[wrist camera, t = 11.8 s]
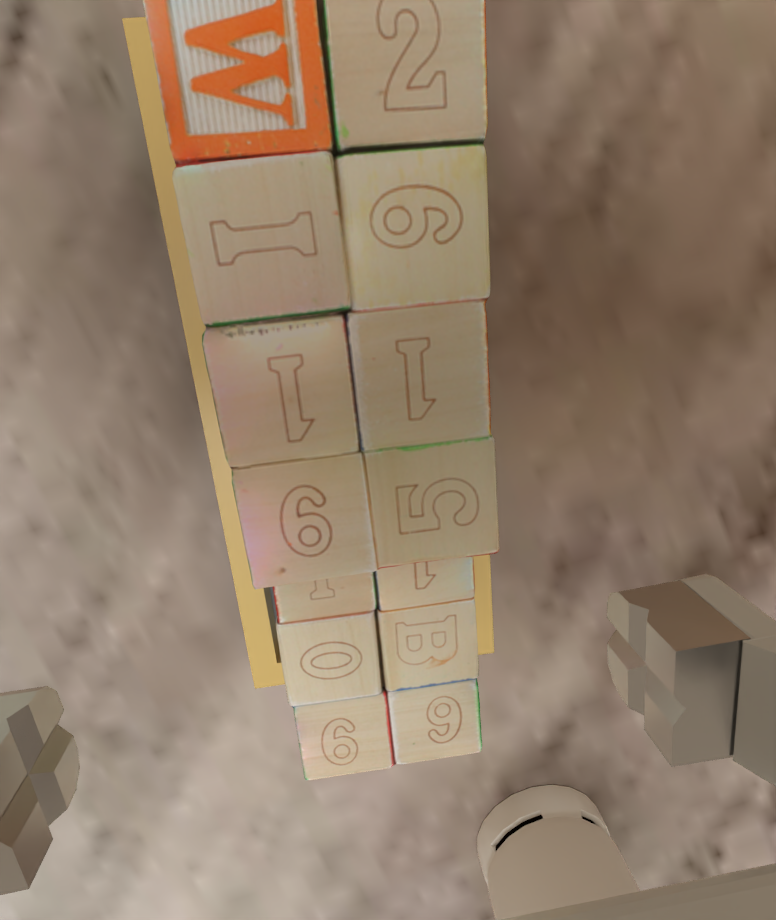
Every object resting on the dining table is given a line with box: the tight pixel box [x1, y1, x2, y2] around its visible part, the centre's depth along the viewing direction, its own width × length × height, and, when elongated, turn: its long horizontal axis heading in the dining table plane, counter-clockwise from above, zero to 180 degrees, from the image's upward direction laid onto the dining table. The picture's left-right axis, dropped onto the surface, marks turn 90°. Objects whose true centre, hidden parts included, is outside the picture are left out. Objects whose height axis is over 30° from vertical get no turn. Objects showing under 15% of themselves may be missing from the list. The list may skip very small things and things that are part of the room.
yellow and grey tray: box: [122, 17, 494, 689], centre depth 25 cm, size 12×27×4 cm, turn 5°
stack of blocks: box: [143, 0, 499, 780], centre depth 19 cm, size 21×6×12 cm, turn 5°
